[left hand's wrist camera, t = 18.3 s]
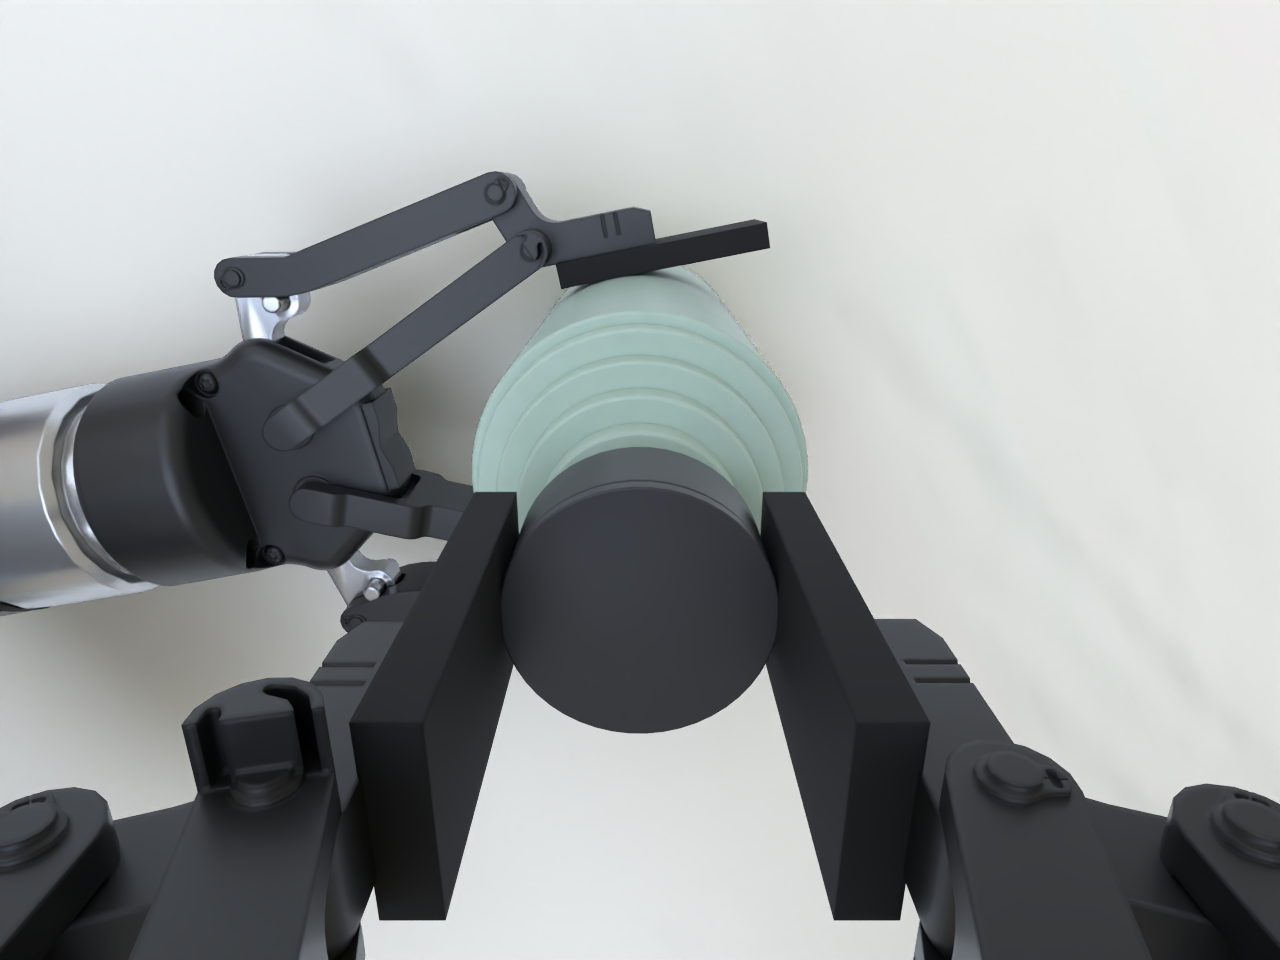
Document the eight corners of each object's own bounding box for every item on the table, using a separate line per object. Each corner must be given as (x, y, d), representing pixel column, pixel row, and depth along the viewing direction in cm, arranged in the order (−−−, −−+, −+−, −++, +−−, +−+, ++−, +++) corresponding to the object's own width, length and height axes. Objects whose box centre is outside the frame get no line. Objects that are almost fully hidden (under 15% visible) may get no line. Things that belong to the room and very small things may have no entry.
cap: (585, 698, 16) (578, 769, 14) (473, 508, 14) (446, 558, 12) (797, 612, 15) (821, 675, 13) (701, 404, 13) (712, 439, 12)
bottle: (694, 223, 31) (790, 282, 11) (760, 404, 34) (932, 709, 14) (513, 301, 32) (310, 478, 12) (590, 470, 35) (525, 841, 15)
